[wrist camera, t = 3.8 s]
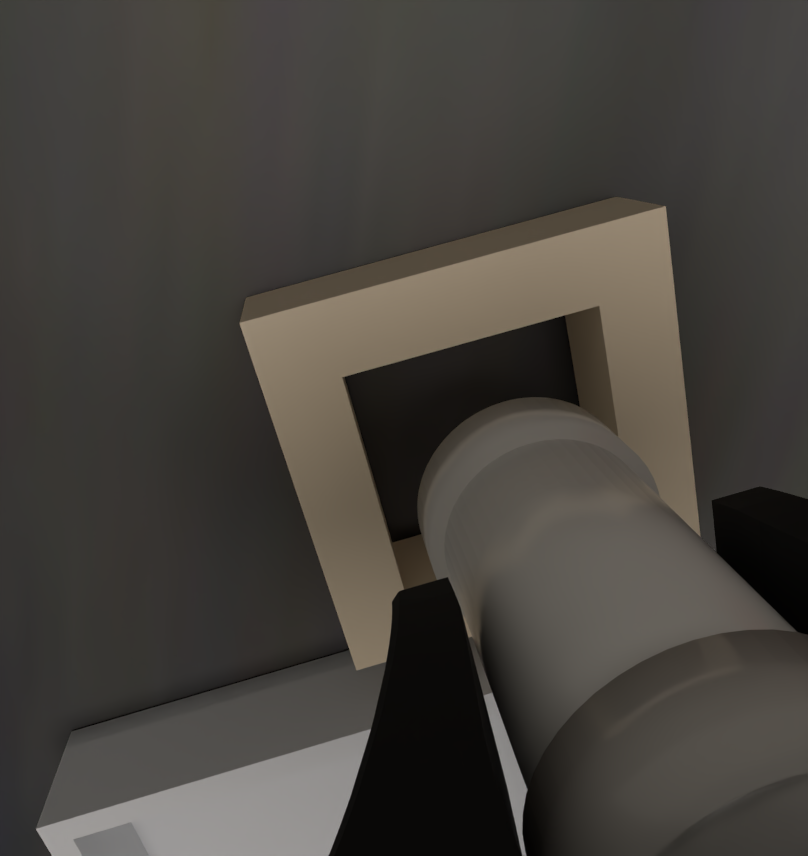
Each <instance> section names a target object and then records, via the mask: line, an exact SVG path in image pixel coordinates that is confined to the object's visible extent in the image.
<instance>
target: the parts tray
mask: <svg viewBox="0 0 808 856" xmlns="http://www.w3.org/2000/svg"><path fill="white" fill-rule="evenodd" d="M469 642H470V646H471V649H472V653H473V657H474V661H475V665H476V669H477V673H478V676H479V680H480V684H481V688H482V692H483V696H484V700H485V703H486V707H487V711H488V715H489V719H490V723H491V727H492V730H493V734H494V738H495V742H496V746H497V750H498V754H499V757H500V761H501V765H502V769H503V773H504V777H505V781H506V784H507V789H508V793H509V798H510V802H511V807H512V811H513V816H514V820H515V825H516V829H517V834H518V838H519V843H520V847H521V852H522V856H526V853H525V847H524V841H523V835H522V822H523V809H524V804H525V798H526V793H527V788H526V785H525V782H524V779H523V777H522V774H521V771H520V768H519V765H518V763H517V760H516V757H515V754H514V752H513V749H512V746H511V743H510V740H509V738H508V735H507V732H506V729H505V727H504V724H503V721H502V718H501V715H500V713H499V710H498V707H497V704H496V702H495V699H494V696H493V693H492V691H491V688H490V685H489V682H488V679H487V677H486V674H485V671H484V668H483V666H482V663H481V660H480V657H479V654H478V652H477V649H476V646H475V643H474V641H473V638H472V637H469ZM385 666H386V662H384V663H380V664H377V665H374V666H370V667H367V668H363V669H360V670H357V671H356V668H355V665H354V662H353V659H352V656H351V653H350V650H347V651H344V652H341V653H337V654H334V655H330V656H327V657H324V658H320V659H317V660H313V661H310V662H307V663H303V664H300V665H296V666H293V667H290V668H286V669H283V670H279V671H276V672H272V673H269V674H266V675H262V676H259V677H255V678H252V679H249V680H245V681H242V682H238V683H235V684H232V685H228V686H225V687H221V688H218V689H215V690H211V691H208V692H204V693H201V694H198V695H194V696H191V697H187V698H184V699H181V700H177V701H174V702H170V703H167V704H163V705H160V706H157V707H153V708H150V709H146V710H143V711H140V712H136V713H133V714H129V715H126V716H123V717H119V718H116V719H112V720H109V721H106V722H102V723H99V724H95V725H92V726H89V727H85V728H82V729H78V730H75V731H71V734H70V736H69V739H68V742H67V745H66V747H65V750H64V753H63V756H62V758H61V761H60V764H59V767H58V769H57V772H56V775H55V778H54V780H53V783H52V786H51V789H50V791H49V794H48V797H47V800H46V802H45V805H44V808H43V811H42V813H41V816H40V819H39V822H38V824H37V827H36V830H37V832H38V833H39V835H40V836H41V838H42V840H43V841H44V843H45V845H46V846H47V848H48V850H49V851H50V853H51V855H52V856H329V854H330V851H331V849H332V846H333V843H334V841H335V838H336V835H337V833H338V830H339V827H340V825H341V822H342V819H343V816H344V813H345V811H346V808H347V805H348V802H349V799H350V796H351V793H352V790H353V787H354V784H355V780H356V777H357V774H358V770H359V767H360V764H361V761H362V757H363V754H364V751H365V747H366V744H367V741H368V738H369V734H370V731H371V727H372V723H373V719H374V715H375V711H376V706H377V702H378V698H379V693H380V689H381V685H382V680H383V676H384V671H385Z"/></svg>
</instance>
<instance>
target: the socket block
mask: <svg viewBox="0 0 808 856" xmlns="http://www.w3.org/2000/svg"><path fill="white" fill-rule="evenodd" d="M564 315H565V319H566V325H567V331H568V337H569V343H570V349H571V355H572V362H573V368H574V374H575V380H576V386H577V392H578V398H579V404H580V407H581V408H583V409H585V410H587V411H588V412H590V413H591V414H593V415H594V416H596V417H597V418H598V419H599V420H600V421H601V422H602V423H603V424H605V425H606V426H607V427H608V428H609V429H610V430H611V431H612V432H613V433H614V434H615V435H616V436H618V437H619V438H620V439H621V440H622V441H623V442H624V443H625V444H626V445H627V446H628V447H630V448H631V449H632V450H633V451H634V452H635V453H636V454H637V455H638V456H639V457H640V458H641V459H642V461H643V462H644V463H645V465H646V466H647V467H648V469H649V471H650V472H651V474H652V476H653V478H654V480H655V483H656V485H657V488H658V491H659V496H660V498H661V499H662V500H663V501H664V502H665V503H666V504H667V505H668V506H669V507H670V508H671V509H672V510H674V511H675V512H676V513H677V514H678V515H679V516H680V517H681V518H682V519H683V520H684V521H685V522H686V523H687V524H688V525H689V526H690V527H691V528H692V529H693V530H694V531H695V532H696V533H697V534H698V535H699V536H700V527H699V518H698V508H697V499H696V489H695V480H694V470H693V461H692V451H691V442H690V432H689V423H688V413H687V404H686V394H685V385H684V375H683V366H682V356H681V347H680V337H679V328H678V318H677V309H676V299H675V290H674V281H673V271H672V262H671V252H670V243H669V233H668V224H667V214H666V206H662V205H657V204H652V203H647V202H642V201H636V200H631V199H626V198H621V197H613V198H609V199H605V200H602V201H598V202H594V203H591V204H587V205H583V206H580V207H576V208H572V209H569V210H565V211H561V212H558V213H554V214H550V215H547V216H543V217H539V218H536V219H532V220H528V221H525V222H521V223H517V224H514V225H510V226H506V227H503V228H499V229H495V230H492V231H488V232H484V233H481V234H477V235H473V236H470V237H466V238H462V239H459V240H455V241H451V242H448V243H444V244H440V245H437V246H433V247H429V248H426V249H422V250H418V251H415V252H411V253H407V254H404V255H400V256H396V257H393V258H389V259H385V260H382V261H378V262H374V263H371V264H367V265H363V266H360V267H356V268H352V269H349V270H345V271H341V272H338V273H334V274H330V275H327V276H323V277H319V278H316V279H312V280H308V281H305V282H301V283H297V284H294V285H290V286H286V287H283V288H279V289H275V290H272V291H268V292H264V293H261V294H257V295H253V296H250V297H246V300H245V303H244V307H243V311H242V315H241V319H240V326H241V329H242V332H243V335H244V338H245V341H246V344H247V347H248V350H249V353H250V356H251V359H252V362H253V365H254V368H255V371H256V374H257V377H258V380H259V383H260V386H261V389H262V392H263V395H264V398H265V401H266V404H267V407H268V410H269V412H270V415H271V418H272V421H273V424H274V427H275V430H276V433H277V436H278V439H279V442H280V445H281V448H282V451H283V454H284V457H285V460H286V463H287V466H288V469H289V472H290V475H291V478H292V481H293V484H294V487H295V490H296V493H297V496H298V499H299V502H300V505H301V507H302V510H303V513H304V516H305V519H306V522H307V525H308V528H309V531H310V534H311V537H312V540H313V543H314V546H315V549H316V552H317V555H318V558H319V561H320V564H321V567H322V570H323V573H324V576H325V579H326V582H327V585H328V588H329V591H330V594H331V597H332V600H333V603H334V605H335V608H336V611H337V614H338V617H339V620H340V623H341V626H342V629H343V632H344V635H345V638H346V641H347V644H348V647H349V650H350V653H351V656H352V659H353V662H354V665H355V668H356V671H357V670H360V669H363V668H367V667H370V666H374V665H377V664H380V663H384V662H386V660H387V654H388V648H389V641H390V634H391V623H392V601H393V599H394V598H395V596H396V595H397V593H398V592H399V591H401V590H405V589H408V588H412V587H415V586H418V585H422V584H425V583H429V582H432V581H436V580H437V579H436V576H435V573H434V571H433V568H432V565H431V561H430V558H429V555H428V552H427V549H426V546H425V543H424V540H423V537H422V534H420V535H417V536H414V537H410V538H407V539H403V540H400V541H396V542H393V543H392V539H391V536H390V533H389V529H388V526H387V522H386V519H385V515H384V512H383V508H382V505H381V501H380V498H379V495H378V491H377V488H376V484H375V481H374V477H373V474H372V470H371V467H370V464H369V460H368V457H367V453H366V450H365V446H364V443H363V439H362V436H361V432H360V429H359V426H358V422H357V419H356V415H355V412H354V408H353V405H352V401H351V398H350V394H349V391H348V388H347V384H346V381H345V376H349V375H352V374H356V373H360V372H363V371H367V370H370V369H374V368H378V367H381V366H385V365H388V364H392V363H396V362H399V361H403V360H406V359H410V358H413V357H417V356H421V355H424V354H428V353H431V352H435V351H439V350H442V349H446V348H449V347H453V346H457V345H460V344H464V343H467V342H471V341H474V340H478V339H482V338H485V337H489V336H492V335H496V334H500V333H503V332H507V331H510V330H514V329H518V328H521V327H525V326H528V325H532V324H535V323H539V322H543V321H546V320H550V319H553V318H557V317H561V316H564ZM463 619H464V622H465V626H466V630H467V634H468V638H469V637H472V635H471V632H470V629H469V627H468V624H467V621H466V618H465V616H463Z"/></svg>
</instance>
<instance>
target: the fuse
mask: <svg viewBox="0 0 808 856" xmlns="http://www.w3.org/2000/svg"><path fill="white" fill-rule="evenodd" d="M417 511H418V521H419V526H420V531H421V534H422V537H423V540H424V543H425V546H426V549H427V552H428V555H429V558H430V561H431V565H432V568H433V571H434V573H435V576H436V579H437V580H439V579H443V578H446V577H448V579H449V581H450V583H451V585H452V588H453V590H454V592H455V595H456V597H457V600H458V602H459V605H460V607H461V611H462V615H463V616H465V618H466V621H467V624H468V627H469V629H470V632H471V635H472V638H473V641H474V643H475V646H476V649H477V652H478V654H479V657H480V660H481V663H482V666H483V668H484V671H485V674H486V677H487V679H488V682H489V685H490V688H491V691H492V693H493V696H494V699H495V702H496V704H497V707H498V710H499V713H500V715H501V718H502V721H503V724H504V727H505V729H506V732H507V735H508V738H509V740H510V743H511V746H512V749H513V752H514V754H515V757H516V760H517V763H518V765H519V768H520V771H521V774H522V777H523V779H524V782H525V785H526V788H527V793H526V798H525V804H524V809H523V822H522V835H523V841H524V847H525V853H526V856H808V635H807V634H803V633H799V632H797V631H796V630H795V629H794V628H793V627H792V626H791V625H790V624H789V623H788V622H787V621H786V620H785V619H784V618H783V617H782V616H781V615H780V614H779V613H778V612H777V611H776V610H775V609H774V608H773V607H772V606H770V605H769V604H768V603H767V602H766V601H765V600H764V599H763V598H762V597H761V596H760V595H759V594H758V593H757V592H756V591H755V590H754V589H753V588H752V587H751V586H750V585H749V584H748V583H747V582H746V581H745V580H744V579H743V578H742V577H741V576H740V575H739V574H738V573H737V572H736V571H735V570H734V569H733V568H732V567H731V566H730V565H729V564H728V563H727V562H726V561H725V560H724V559H723V558H721V557H720V556H719V555H718V554H717V553H716V552H715V551H714V550H713V549H712V548H711V547H710V546H709V545H708V544H707V543H706V542H705V541H704V540H703V539H702V538H701V537H700V536H699V535H698V534H697V533H696V532H695V531H694V530H693V529H692V528H691V527H690V526H689V525H688V524H687V523H686V522H685V521H684V520H683V519H682V518H681V517H680V516H679V515H678V514H677V513H676V512H675V511H674V510H672V509H671V508H670V507H669V506H668V505H667V504H666V503H665V502H664V501H663V500H662V499H661V498H660V496H659V491H658V488H657V485H656V483H655V480H654V478H653V476H652V474H651V472H650V471H649V469H648V467H647V466H646V465H645V463H644V462H643V461H642V459H641V458H640V457H639V456H638V455H637V454H636V453H635V452H634V451H633V450H632V449H631V448H630V447H628V446H627V445H626V444H625V443H624V442H623V441H622V440H621V439H620V438H619V437H618V436H616V435H615V434H614V433H613V432H612V431H611V430H610V429H609V428H608V427H607V426H606V425H605V424H603V423H602V422H601V421H600V420H599V419H598V418H597V417H596V416H594V415H593V414H591V413H590V412H588V411H587V410H585V409H583V408H581V407H579V406H577V405H575V404H572V403H569V402H566V401H562V400H558V399H552V398H544V397H528V398H518V399H513V400H509V401H504V402H501V403H498V404H495V405H492V406H490V407H488V408H486V409H483V410H481V411H479V412H477V413H476V414H474V415H472V416H471V417H469V418H468V419H466V420H465V421H463V422H462V423H461V424H460V425H459V426H457V427H456V428H455V429H454V430H453V431H452V432H451V433H450V434H449V435H448V436H447V437H446V438H445V439H444V440H443V441H442V442H441V444H440V445H439V446H438V448H437V449H436V451H435V452H434V453H433V455H432V457H431V459H430V461H429V462H428V464H427V466H426V469H425V471H424V474H423V476H422V479H421V483H420V488H419V492H418V502H417Z"/></svg>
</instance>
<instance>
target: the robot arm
mask: <svg viewBox="0 0 808 856" xmlns="http://www.w3.org/2000/svg"><path fill="white" fill-rule="evenodd" d="M712 508H713V518H714V528H715V538H716V548H717V554H718V555H719V556H720V557H721V558H723V559H724V560H725V561H726V562H727V563H728V564H729V565H730V566H731V567H732V568H733V569H734V570H735V571H736V572H737V573H738V574H739V575H740V576H741V577H742V578H743V579H744V580H745V581H746V582H747V583H748V584H749V585H750V586H751V587H752V588H753V589H754V590H755V591H756V592H757V593H758V594H759V595H760V596H761V597H762V598H763V599H764V600H765V601H766V602H767V603H768V604H769V605H770V606H772V607H773V608H774V609H775V610H776V611H777V612H778V613H779V614H780V615H781V616H782V617H783V618H784V619H785V620H786V621H787V622H788V623H789V624H790V625H791V626H792V627H793V628H794V629H795V630H796V631H797V632H799V633H803V634H807V635H808V499H805V498H802V497H798V496H795V495H791V494H788V493H784V492H780V491H777V490H772V489H768V488H764V487H757V488H753V489H750V490H746V491H743V492H739V493H736V494H733V495H729V496H726V497H722V498H719V499H715V500H712ZM329 856H522V852H521V847H520V843H519V838H518V834H517V829H516V825H515V820H514V816H513V811H512V807H511V802H510V798H509V793H508V789H507V784H506V781H505V777H504V773H503V769H502V765H501V761H500V757H499V754H498V750H497V746H496V742H495V738H494V734H493V730H492V727H491V723H490V719H489V715H488V711H487V707H486V703H485V700H484V696H483V692H482V688H481V684H480V680H479V676H478V673H477V669H476V665H475V661H474V657H473V653H472V649H471V646H470V642H469V638H468V634H467V630H466V626H465V622H464V619H463V615H462V611H461V607H460V605H459V602H458V600H457V597H456V595H455V592H454V590H453V588H452V585H451V583H450V581H449V579H448V577H446V578H443V579H439V580H436V581H432V582H429V583H425V584H422V585H418V586H415V587H412V588H408V589H405V590H401V591H399V592H398V593H397V595H396V596H395V598H394V599H393V601H392V623H391V634H390V641H389V648H388V654H387V660H386V666H385V671H384V676H383V680H382V685H381V689H380V693H379V698H378V702H377V706H376V711H375V715H374V719H373V723H372V727H371V731H370V734H369V738H368V741H367V744H366V747H365V751H364V754H363V757H362V761H361V764H360V767H359V770H358V774H357V777H356V780H355V784H354V787H353V790H352V793H351V796H350V799H349V802H348V805H347V808H346V811H345V813H344V816H343V819H342V822H341V825H340V827H339V830H338V833H337V835H336V838H335V841H334V843H333V846H332V849H331V851H330V854H329Z"/></svg>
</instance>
